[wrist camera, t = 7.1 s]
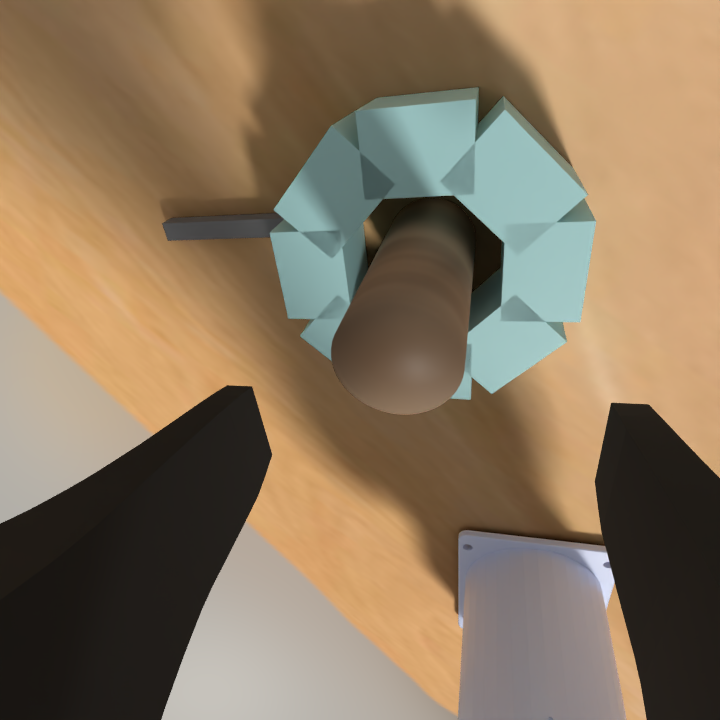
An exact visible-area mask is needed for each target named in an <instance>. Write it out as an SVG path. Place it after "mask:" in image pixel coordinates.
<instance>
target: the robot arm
mask: <svg viewBox="0 0 720 720" xmlns="http://www.w3.org/2000/svg"><path fill="white" fill-rule="evenodd" d="M271 457H272V452H271V449H270V446H269V442H268V439H267V436H266V432H265V429H264V425H263V422H262V419H261V415H260V412H259V408H258V405H257V402H256V398H255V395H254V391H253V388H252V387H250V386H228V385H227V386H226V387H224V388H222V389H221V390H219V391H217V392H216V393H214V394H213V395H211V396H210V397H208V398H207V399H205V400H204V401H202V402H201V403H199V404H198V405H196V406H195V407H193V408H192V409H190V410H189V411H188V412H186V413H185V414H183V415H182V416H180V417H179V418H178V419H176V420H175V421H173V422H172V423H170V424H169V425H167V426H166V427H164V428H163V429H162V430H160V431H159V432H157V433H156V434H154V435H153V436H151V437H150V438H149V439H147V440H146V441H144V442H143V443H141V444H140V445H138V446H137V447H135V448H134V449H132V450H130V451H129V452H127V453H126V454H124V455H123V456H121V457H119V458H118V459H116V460H115V461H113V462H112V463H110V464H108V465H107V466H105V467H104V468H102V469H101V470H99V471H98V472H96V473H94V474H93V475H91V476H89V477H88V478H86V479H84V480H83V481H81V482H79V483H77V484H76V485H74V486H72V487H70V488H69V489H67V490H65V491H63V492H61V493H60V494H58V495H56V496H54V497H52V498H51V499H49V500H47V501H45V502H43V503H41V504H40V505H38V506H36V507H34V508H32V509H30V510H28V511H26V512H24V513H22V514H20V515H18V516H16V517H14V518H11V519H10V520H7V521H5V522H3V523H1V524H0V720H161V718H162V715H163V712H164V709H165V706H166V703H167V701H168V698H169V695H170V692H171V690H172V687H173V684H174V681H175V678H176V676H177V673H178V670H179V667H180V664H181V662H182V659H183V656H184V654H185V651H186V649H187V646H188V644H189V641H190V638H191V636H192V633H193V631H194V628H195V626H196V623H197V620H198V618H199V615H200V613H201V610H202V608H203V606H204V604H205V601H206V599H207V597H208V595H209V593H210V590H211V588H212V586H213V584H214V582H215V580H216V578H217V576H218V574H219V572H220V570H221V569H222V567H223V565H224V563H225V561H226V559H227V557H228V555H229V553H230V551H231V549H232V547H233V545H234V543H235V541H236V538H237V537H238V535H239V533H240V531H241V529H242V527H243V525H244V523H245V521H246V519H247V517H248V515H249V513H250V511H251V509H252V507H253V505H254V503H255V501H256V499H257V497H258V494H259V492H260V489H261V486H262V483H263V481H264V478H265V475H266V472H267V469H268V466H269V463H270V460H271ZM595 486H596V494H597V502H598V510H599V517H600V524H601V531H602V535H603V539H604V543H605V546H600V545H592V544H583V543H575V542H566V541H557V540H549V539H540V538H532V537H523V536H514V535H506V534H497V533H489V532H480V531H471V530H464V531H461V532H460V533H459V538H458V624H459V626H460V627H461V628H463V635H462V653H461V672H460V691H459V710H458V720H627V718H626V713H625V708H624V702H623V697H622V692H621V686H620V681H619V676H618V671H617V665H616V660H615V655H614V650H613V644H612V639H611V634H610V629H609V623H608V618H607V613H606V609H607V606H608V603H609V599H610V596H611V593H612V589H613V586H614V583H615V585H616V589H617V593H618V596H619V600H620V604H621V608H622V611H623V615H624V619H625V623H626V626H627V630H628V634H629V638H630V641H631V645H632V649H633V653H634V656H635V661H636V665H637V670H638V674H639V679H640V683H641V688H642V694H643V700H644V706H645V712H646V718H647V720H720V478H719V477H718V476H717V475H716V474H715V473H714V472H713V471H712V470H711V469H710V468H709V467H708V466H707V465H706V464H705V463H704V462H703V461H702V460H701V459H700V458H699V457H698V456H697V455H696V454H695V452H694V451H693V450H692V449H691V448H690V447H689V446H688V445H687V444H686V443H685V442H684V441H683V440H682V439H681V438H680V437H679V436H678V435H677V434H676V433H675V432H674V430H673V429H672V428H671V427H670V426H669V425H668V424H667V423H666V422H665V421H664V420H663V419H662V418H661V417H660V416H659V415H658V414H657V413H656V412H655V411H654V410H653V409H652V407H651V406H650V405H648V404H626V403H611V407H610V411H609V416H608V421H607V426H606V431H605V435H604V440H603V445H602V450H601V455H600V459H599V464H598V469H597V474H596V478H595Z"/></svg>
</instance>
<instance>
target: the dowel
mask: <svg viewBox="0 0 720 720" xmlns="http://www.w3.org/2000/svg"><path fill="white" fill-rule="evenodd" d="M475 246H476V234H475V229H474V226H473V223H472V221H471V219H470V218H469V216H468V215H467V214H466V212H465V211H464V210H463V209H462V208H460V207H459V206H458V205H456V204H454V203H453V202H450V201H448V200H445V199H441V198H424V199H420V200H416V201H414V202H412V203H410V204H409V205H407V206H406V207H404V208H403V209H402V210H401V211H400V212H399V213H398V214H397V216H396V217H395V219H394V221H393V223H392V224H391V226H390V228H389V230H388V232H387V234H386V236H385V238H384V240H383V242H382V244H381V246H380V248H379V250H378V251H377V253H376V255H375V257H374V259H373V261H372V263H371V265H370V267H369V269H368V271H367V273H366V275H365V277H364V278H363V280H362V282H361V284H360V286H359V288H358V290H357V292H356V294H355V296H354V298H353V300H352V302H351V304H350V305H349V307H348V309H347V311H346V313H345V315H344V317H343V319H342V321H341V323H340V325H339V327H338V329H337V331H336V333H335V334H334V337H333V340H332V346H331V359H332V364H333V368H334V370H335V373H336V375H337V377H338V379H339V380H340V382H341V383H342V385H343V386H344V387H345V388H346V389H347V390H348V391H349V392H350V394H352V395H353V396H354V397H355V398H356V399H358V400H359V401H361V402H362V403H364V404H366V405H368V406H370V407H372V408H374V409H377V410H380V411H383V412H387V413H392V414H401V415H411V414H419V413H423V412H427V411H430V410H432V409H435V408H437V407H439V406H441V405H442V404H443V403H445V402H446V401H448V400H449V399H450V398H451V397H452V396H453V395H454V393H455V392H456V391H457V389H458V388H459V386H460V384H461V382H462V379H463V376H464V371H465V360H466V349H467V338H468V326H469V315H470V303H471V292H472V281H473V269H474V258H475Z"/></svg>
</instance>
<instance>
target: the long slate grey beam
mask: <svg viewBox="0 0 720 720" xmlns="http://www.w3.org/2000/svg"><path fill="white" fill-rule="evenodd" d="M283 220H284V218H282V217H281V216H280V215H279V214H278V213H267V214H245V215H223V216H202V217H180V218H171V219H169V220H167V221H166V222H164V223H162V225H163V228H164V230H165V233H166V236H167V239H168V241H171V240H201V239H231V238H262V237H270V232H271V231H272V230H273V229H274V228H275V227H276V226H277V225H278V224H280V223H281V222H282V221H283Z"/></svg>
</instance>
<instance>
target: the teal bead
mask: <svg viewBox="0 0 720 720" xmlns="http://www.w3.org/2000/svg"><path fill="white" fill-rule="evenodd" d="M478 105H479V87H475V88H465V89H455V90H446V91H436V92H427V93H417V94H407V95H398V96H388V97H379V98H375V99H374V100H372V101H371V102H369V103H367V104H366V105H364V106H363V107H361V108H359V109H358V110H356V111H354V112H352V113H351V114H349V115H348V116H346V117H344V118H343V119H341V120H339V121H338V122H336V123H335V124H333V125H331V127H330V128H329V130H328V131H327V132H326V134H325V135H324V137H323V138H322V140H321V141H320V143H319V144H318V146H317V147H316V149H315V150H314V151H313V153H312V154H311V156H310V157H309V159H308V160H307V162H306V163H305V165H304V166H303V168H302V169H301V170H300V172H299V173H298V175H297V176H296V178H295V179H294V181H293V182H292V184H291V185H290V186H289V188H288V189H287V191H286V192H285V194H284V195H283V197H282V198H281V200H280V201H279V203H278V204H277V205H276V207H275V208H274V211H275V212H277V213H278V214H279V215H280V216H281V217H282V218H284V220H283V221H282V222H281V223H280V224H278V225H277V226H276V227H275V228H274V229H273V230H272V231H271V232H270V237H271V242H272V246H273V251H274V256H275V260H276V265H277V269H278V274H279V278H280V283H281V288H282V292H283V297H284V301H285V306H286V310H287V315H288V319H310V321H309V322H308V324H307V325H306V327H305V329H304V330H303V332H302V333H301V335H300V337H301V338H303V339H304V340H305V341H307V342H308V343H309V344H310V345H312V346H313V347H314V348H315V349H317V350H318V351H319V352H321V353H322V354H323V355H324V356H326V357H327V358H328V359H329V360H331V361H332V359H331V346H332V340H333V337H334V334H335V333H336V331H337V329H338V327H339V325H340V323H341V321H342V319H343V317H344V315H345V313H346V311H347V309H348V307H349V305H350V304H351V302H352V300H353V298H354V296H355V294H356V292H357V290H358V288H359V286H360V284H361V282H362V280H363V278H364V277H365V275H366V273H367V271H368V262H367V253H366V243H365V234H364V225H363V222H364V221H365V220H366V219H367V217H368V216H369V215H370V214H371V213H372V212H373V210H374V209H375V208H376V207H377V206H378V204H379V203H380V202H381V201H382V200H383V199H392V198H412V197H431V196H451V195H454V196H455V197H456V198H457V199H458V200H459V201H460V202H462V203H463V204H464V205H465V206H466V207H467V208H468V209H469V210H470V211H471V212H472V213H473V214H474V215H475V216H476V217H477V218H478V219H480V220H481V221H482V222H483V223H484V224H485V225H486V226H487V227H488V228H489V229H490V230H491V231H492V232H493V233H494V234H495V235H496V236H498V237H499V238H500V239H501V240H502V246H501V266H500V269H499V270H497V271H496V272H495V273H494V274H493V275H492V276H491V277H489V278H488V279H487V280H486V281H485V282H484V283H482V284H481V285H480V286H479V287H478V288H477V289H476V290H474V291H473V292H472V293H471V303H470V315H469V326H468V338H467V349H466V360H465V371H464V376H463V379H462V382H461V384H460V386H459V388H458V389H457V391H456V392H455V393H454V395H453V396H452V397H451V398H450V399H468V400H471V388H472V378H473V379H475V380H476V381H477V382H478V383H479V384H480V385H482V386H483V387H484V388H485V389H486V390H488V391H489V392H490V393H491V394H493V393H494V392H495V391H497V390H498V389H500V388H501V387H503V386H504V385H506V384H507V383H508V382H510V381H511V380H513V379H514V378H516V377H517V376H519V375H520V374H521V373H523V372H524V371H526V370H527V369H529V368H530V367H532V366H533V365H534V364H536V363H537V362H539V361H540V360H542V359H543V358H544V357H546V356H547V355H549V354H550V353H552V352H553V351H555V350H556V349H557V348H559V347H560V346H562V345H563V344H565V343H566V342H567V340H566V335H565V331H564V327H563V322H580V321H581V314H582V308H583V301H584V295H585V289H586V282H587V276H588V269H589V263H590V257H591V250H592V244H593V237H594V231H595V224H596V220H595V218H594V216H593V214H592V212H591V210H590V209H589V207H588V205H587V203H586V201H585V199H584V198H585V197H586V196H587V195H588V194H587V192H586V190H585V189H584V187H583V185H582V183H581V181H580V179H579V178H578V176H577V174H576V172H575V170H574V168H573V167H572V166H571V165H570V164H569V163H568V162H567V161H566V160H565V159H564V158H563V157H562V156H561V155H560V154H559V153H558V152H557V151H556V150H555V149H554V148H553V147H552V146H551V145H550V144H549V143H548V142H547V140H546V139H545V138H544V137H543V136H542V135H541V134H540V133H539V132H538V131H537V130H536V129H535V128H534V127H533V126H532V125H531V124H530V123H529V122H528V121H527V120H526V119H525V118H524V117H523V116H522V115H521V114H520V113H519V112H518V111H517V109H516V108H515V107H514V106H513V105H512V104H511V103H510V102H509V101H508V100H507V99H506V98H505V97H504V96H503V97H502V98H501V99H500V100H499V101H498V102H497V103H496V105H495V106H494V107H493V108H492V109H491V110H490V111H489V112H488V114H487V115H486V116H485V117H484V118H483V119H482V120H481V122H480V123H479V124H478Z"/></svg>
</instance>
